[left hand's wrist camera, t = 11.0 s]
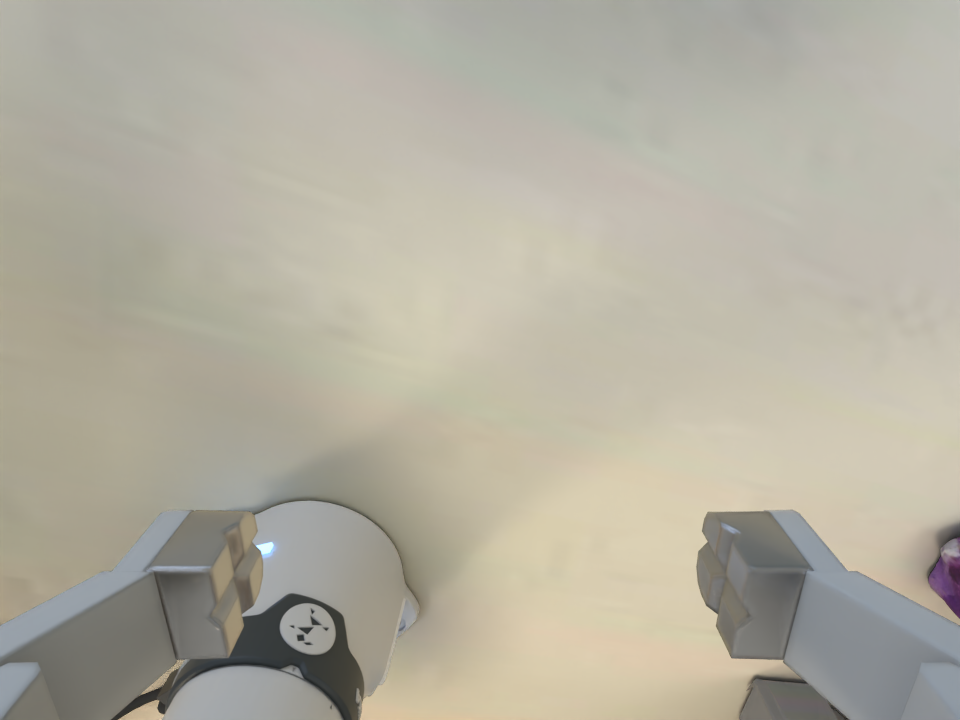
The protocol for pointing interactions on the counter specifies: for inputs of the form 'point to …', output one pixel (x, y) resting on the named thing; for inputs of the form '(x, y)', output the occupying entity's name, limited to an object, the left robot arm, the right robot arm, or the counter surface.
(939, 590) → the figurine
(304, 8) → the counter surface
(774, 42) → the counter surface
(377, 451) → the counter surface
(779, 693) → the record crate
